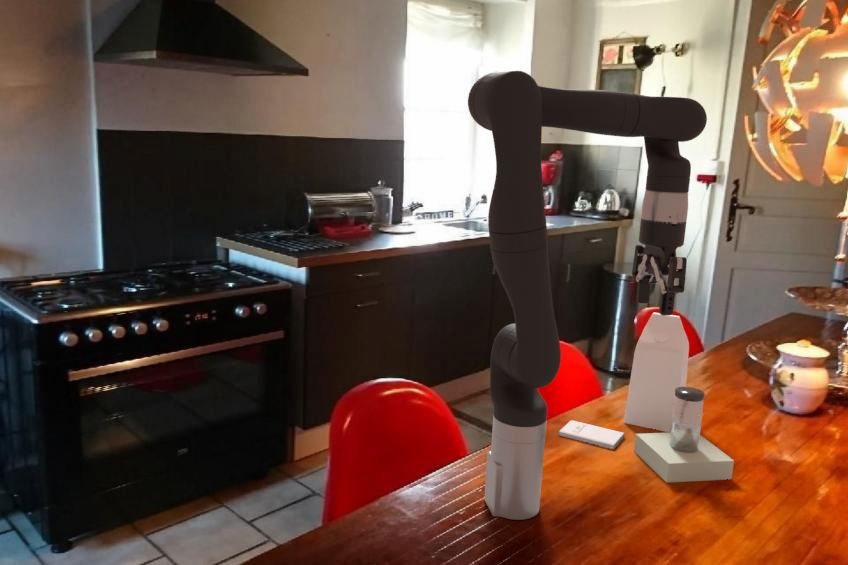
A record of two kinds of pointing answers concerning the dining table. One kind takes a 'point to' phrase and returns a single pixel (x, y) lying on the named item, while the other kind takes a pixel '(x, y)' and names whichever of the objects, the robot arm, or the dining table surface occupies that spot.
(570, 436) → the external hard drive
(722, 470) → the stand
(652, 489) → the dining table surface
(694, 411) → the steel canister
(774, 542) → the dining table surface
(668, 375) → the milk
